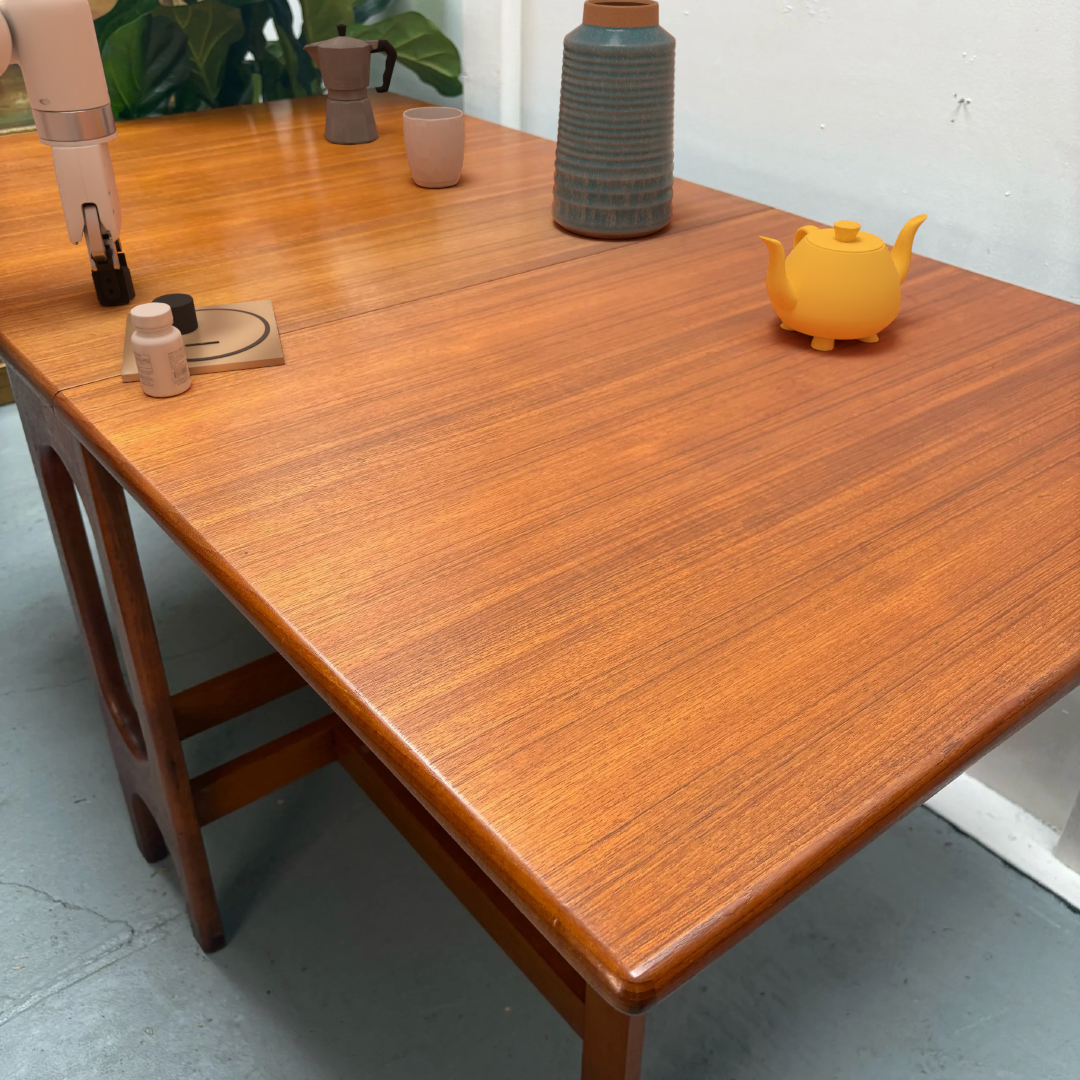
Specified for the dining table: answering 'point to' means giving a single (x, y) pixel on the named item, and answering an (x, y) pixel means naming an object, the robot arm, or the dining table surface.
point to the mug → (434, 145)
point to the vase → (616, 123)
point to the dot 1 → (128, 281)
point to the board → (222, 340)
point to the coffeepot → (350, 84)
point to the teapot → (839, 281)
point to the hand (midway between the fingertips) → (116, 294)
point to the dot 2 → (181, 311)
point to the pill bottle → (159, 351)
